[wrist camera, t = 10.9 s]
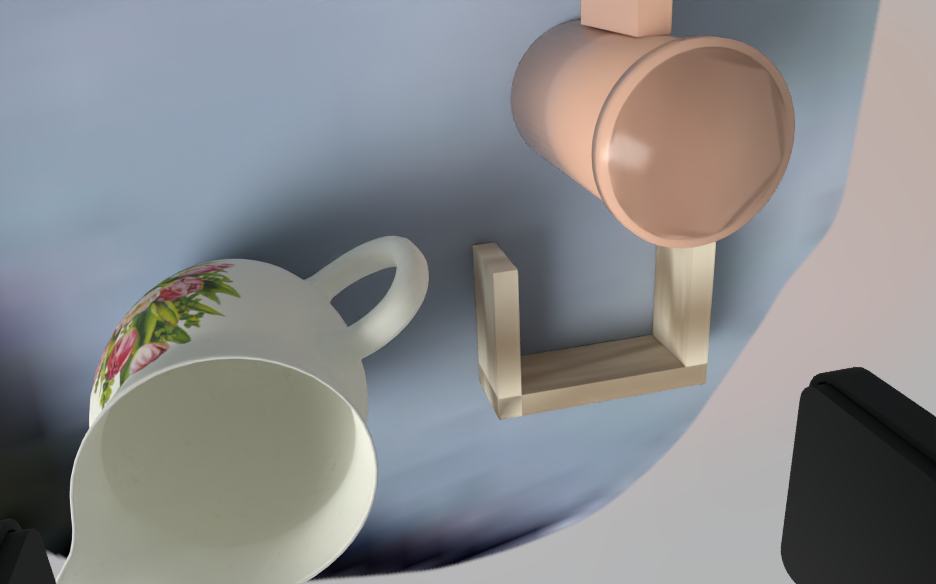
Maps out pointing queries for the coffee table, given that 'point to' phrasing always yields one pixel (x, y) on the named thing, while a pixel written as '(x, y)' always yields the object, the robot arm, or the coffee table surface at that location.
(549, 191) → the coffee table surface
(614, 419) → the coffee table surface
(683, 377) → the holder
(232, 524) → the pitcher
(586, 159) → the peach cylinder
